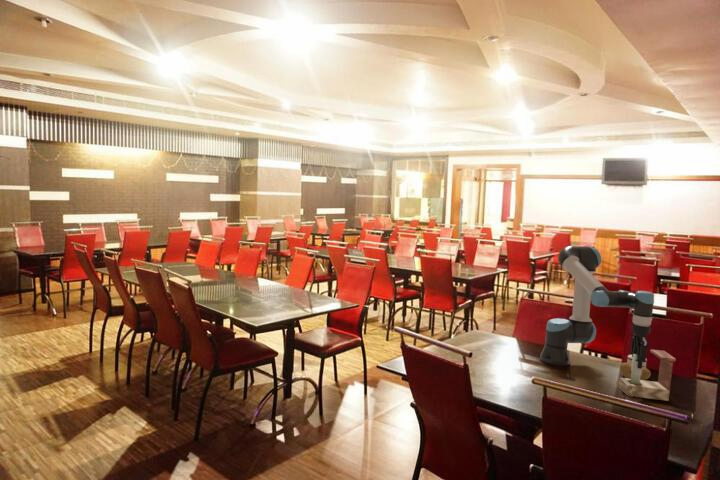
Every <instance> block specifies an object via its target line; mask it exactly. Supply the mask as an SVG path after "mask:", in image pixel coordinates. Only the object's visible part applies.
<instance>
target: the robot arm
mask: <svg viewBox="0 0 720 480" xmlns="http://www.w3.org/2000/svg"><path fill="white" fill-rule="evenodd" d="M557 261H558V264H559V265H560V267H561V268H562V269H563V270H564V271H566V272H568V273H569V274H570V275H571V276H572V277H573V278H574V286H573V287H574V288H573V290H574V291H573V303H572V313H571V314H572V315H570V316H569V318H568V319H566V318H559V317H557V318H552V319H551V318H550V319H549V320H548V321H547V323H546V327H545V329H546V330H545V339H544V341H545V342H544V346H543V349H542V351H541V353H540V357H539V359H540V361H542V362H544V363H546V364H549V365H554V366H562V367H563V366H568V365H570V355H569V351H568V346H569V345H568V344H590V343H591V342H592V341H594V340H595V338H596V334H597V328H596V326H595V323H593V319H592V318H591V317H590V314H591V313H590V312H591V311H590V310H591V304H592V305H593V306H595V307H599V308H601V307H602V308H603V307H604V308H605V307H606V308H609V307H610V308H629V309H632V310H633V315H632V323H631V332H632V334H631V347H630V355H632V357H633V354H637V360H635V361H636V365H635V375H641V374H642V365H643V362H645V361H646V359H647V354H648V353H647V352H648V346H649V343H650V342H649V341H647V335H650V334H651V329H652V327H651V325H652V321H653V311H654V304H655V294H654V293H653V292H651V291H647V290H636V291H635V292H631V291H628V290H622V289H619V290H618V291H614V290H613V291H611V290H608V289H607V288H606V287H605V286H604V285H603V284H602V283H601V282H600V281H599V280H598V279H597V278H596V277H595V276H594V273H596V270H597V268H599V267H600V266H601V264H602V255H601V252H600V251H599V249H597V248H595V247H594V246H587V245H586V246H581V245H578V246H576V245H567V246H565V247H563V248H561V250H560V251H559V253H558V255H557ZM632 363H633V358H632ZM631 371H632V366H631Z"/></svg>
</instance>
